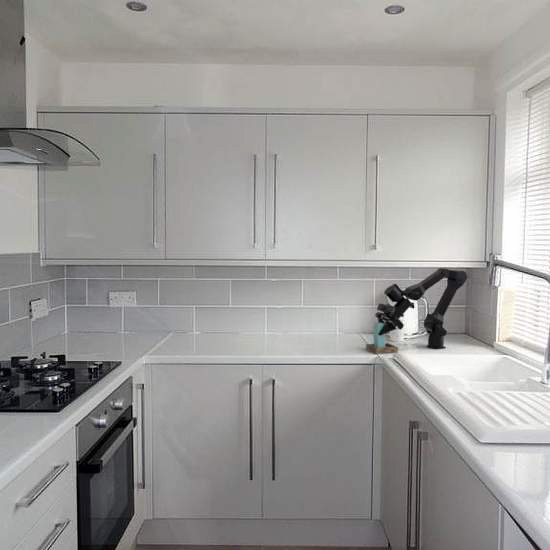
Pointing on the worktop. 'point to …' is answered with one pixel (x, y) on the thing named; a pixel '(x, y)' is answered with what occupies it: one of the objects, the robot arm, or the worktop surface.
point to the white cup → (397, 334)
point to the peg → (379, 340)
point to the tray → (382, 349)
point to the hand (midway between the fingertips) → (376, 334)
